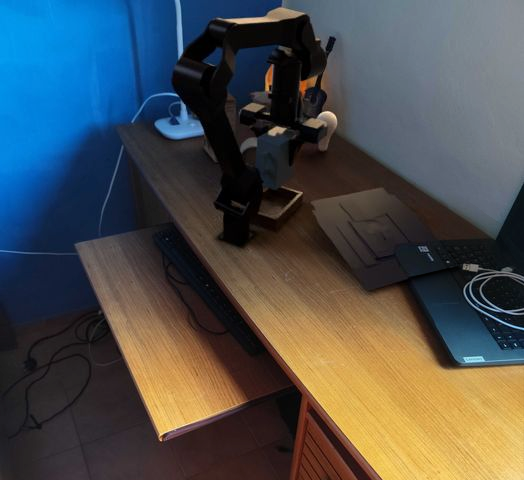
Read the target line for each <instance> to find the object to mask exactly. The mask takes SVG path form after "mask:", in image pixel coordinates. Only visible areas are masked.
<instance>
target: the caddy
mask: <svg viewBox="0 0 524 480" xmlns="http://www.w3.org/2000/svg"><path fill="white" fill-rule="evenodd" d="M303 199H304V192H302V191H299V190H295V189H292V188H289V187H286V186H284V185H282V186H280V187H279V188H278V189H276V190H273V189H271V188H268V187H266V186H264V187H263V198H262V201H261V205H260V209H259V213H258V215H257V216H255V217H254V218H252V219H251V220H250V223H251V224H253V225H256V226H259V227H263V228H265V229H268V230H271V231H274V232H276V231H277V230H279V228H280V227H281V226H282V225H284V223H285V222H287V220H288V219H289V218H290V217H291V216H292V215H293V214H294V213H295V212H296V211H297V210H298V209H299V208H300V207H301V205H302V204H303Z"/></svg>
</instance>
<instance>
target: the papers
mask: <svg viewBox="0 0 524 480" xmlns="http://www.w3.org/2000/svg"><path fill="white" fill-rule="evenodd" d="M309 203H310V204H311V205H312V207H313V208H314V209H312V210H311V212H312V213H313V215H314V216H315V218H316V222H317V223H318V224H319V226H320V227H321V229H322V230H323V231H324V233H325V235H327V237H328V238H329V239H330V241H331V242H332V244H333V246H335V248H336V249H337V250H338V252H339V254H341V256H342V257H343V259H344V260H345V261H346V263H347V264H348V266H349V267H350V270H351V271H352V272H353V273H354V275H355V276H356V277H357V279H358V280H359V281H360V282H361V283H362V285H363V286H364V288H366V290H367V291H368V292H370V291H374V290H376V289H379V288H383V287H385V286H389V285H392V284H395V283H400V282H401V281H405V280H408V277H407V275H406V274H405V272H404V271H403V269H402V267H399V265H398V262H397V260H396V258H395V254H394V251H393V250H394V247H395V245H396V244H400V243H409V242H410V243H411V242H426V241H440V239H439V238H438V237H437V236H436V235H435V234H434V233H433V232H432V230H431V229H430V228H428V226H427V225H426V224H425V223H424V222H423V221H422V220H421V219H420V217H418V216H417V214H416V213H415V212H414V211H413V210H412V209H410V208H409V207H408V206H407V204H406V203H405V202H403V201H401V200H400V199H399V198H398V197H397V196H396V195H395V194H394V193H393V194H389V193H388V192H387V190H386V189H385V188H384V187H377V188H373V189H372V188H371V189H368V190H362V191H358V192H353V193H348V194H342V195H336V196H331V197H326V198H325V197H324V198H319V199H314V200H309Z"/></svg>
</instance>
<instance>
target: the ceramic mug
mask: <svg viewBox="0 0 524 480" xmlns="http://www.w3.org/2000/svg"><path fill="white" fill-rule="evenodd" d="M239 148H240V151H241V154H242V156H243V159H244V162H245V163H246V164H248V165H251V166H253V167H256V152H257V138H255V137H249V138H246V139H245V140H243V142H242V143H241V146H240V147H239Z"/></svg>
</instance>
